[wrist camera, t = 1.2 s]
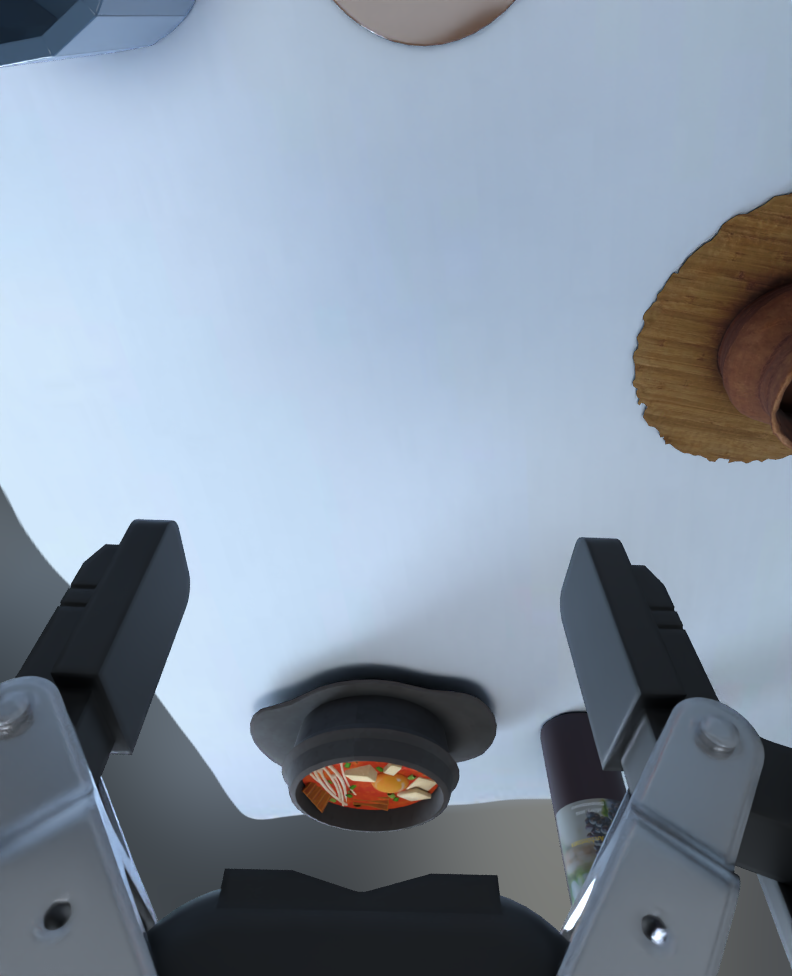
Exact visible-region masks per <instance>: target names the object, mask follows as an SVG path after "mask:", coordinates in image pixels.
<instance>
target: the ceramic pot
mask: <svg viewBox="0 0 792 976" xmlns="http://www.w3.org/2000/svg"><path fill="white" fill-rule="evenodd" d="M643 320H644V327H643V329H642V331H641V332H640V334H639V335H638V337H637V340H638V343H639V344H638V349H637V350H636V351H635V352H634V355H633V359H634V363H635V380H634V381H633V386H634V387H635V388H637V392H636V395H637V397H638V398H639V402H638V404H639V405H640V404H641V403H644V404H645V405H646V406H647V409H646V410H645V412H644V415H643V418H644V419H645V420H646V422H647V423H648V425H649V426H652V427H655V428H656V429H657V430H658V431H659V433H660V437H664V440H665V444H671V445H672V446H673V447H674V448H676V449H677V450H679V451H681V452H683V453H690V454H692V455H695V456H696V455H700V456H702V457H705V458H707V459H708V460H709V461H713V462H715V461H716V460H717V459H718V458H723V459H730V460H729V462H728V463H730V462H734V461H742V462H745V463H749V462H751V461H754V460H759V461H761V462H763V461H765V460H766V459H774V460H776V459H781V458H784V457H786V456H789V455H792V193H791V194H789V195H782V196H775V197H773V198H772V199H771V200H770V201H769V202H767V203H766V204H765V205H763V206H761V207H759V208H757V209H755V210H753V211H752V212H750V213H748V214H739V215H737V216H735V217H734V218H732V219H730V220H729V221H727V222H726V223H724V224H723V225H722V227H721V229H720V230H719V232H718V234H717V235H716V236H715V237H714V238H713V240H712V241H710V242H708V243H706V244H704V245H703V246H702V247H701V248H699V249H698V250H697V251H696V252H695V253H693V254H692V255H691V256H690V257H689V258H688V259H687V261H686V262H685V263H684V265H683V266H682V267H681V268H680V270H679V273H678V274H677V273H673V274H672V275H671V277H670V278H669V280H668V281H667V283H666V285H665V287H664V288H663V290H662V291H661V292H660V293H659V294H658V295H657V301H656V302H654V303H653V304H652V306H651V307H650V308H649V309H648V310H647V311H646V312H645V314H644V316H643Z"/></svg>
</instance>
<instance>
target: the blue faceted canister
mask: <svg viewBox="0 0 792 976" xmlns="http://www.w3.org/2000/svg"><path fill="white" fill-rule="evenodd" d="M195 1H196V0H0V68H1V67H9V66H16V65H24V64H32V63H40V62H47V61H55V60H63V59H71V58H78V57H86V56H94V55H102V54H109V53H116V52H121V51H126V50H131V49H137V48H141V47H147V46H152V45H154V44H155V43H156V42H158V41H159V40H161V39H162V38H164V37H165V36H166V35H168V34H169V33H170V32H172V31H173V30H174V29H175V28H176V27H177V26H178V25H179V24H180V23H181V22H182V21H183V20H184V18H185V17H186V15H187V14H188V13H189V11H190V10H191V8H192V7H193V5H194V3H195Z"/></svg>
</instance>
